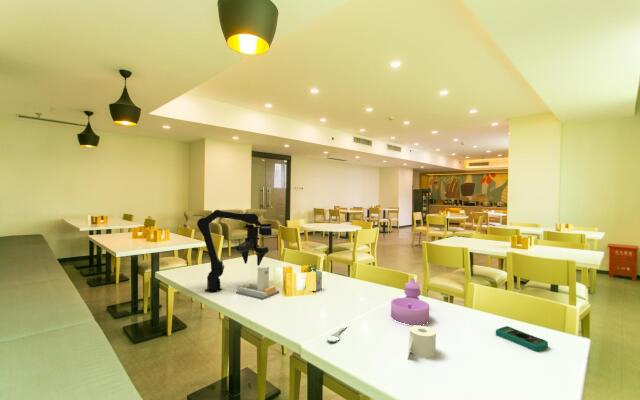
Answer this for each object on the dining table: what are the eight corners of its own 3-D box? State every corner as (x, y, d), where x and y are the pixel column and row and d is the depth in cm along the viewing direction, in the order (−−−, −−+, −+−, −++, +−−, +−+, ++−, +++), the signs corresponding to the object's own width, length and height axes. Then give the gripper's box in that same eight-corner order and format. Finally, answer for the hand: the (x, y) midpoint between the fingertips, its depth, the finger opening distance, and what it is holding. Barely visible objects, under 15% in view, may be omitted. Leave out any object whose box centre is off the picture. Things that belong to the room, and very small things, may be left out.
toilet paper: (407, 359, 96) (407, 337, 96) (410, 343, 106) (410, 323, 106) (435, 365, 93) (435, 342, 93) (435, 348, 103) (436, 327, 103)
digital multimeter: (538, 354, 101) (538, 345, 101) (494, 336, 114) (494, 328, 114) (550, 349, 105) (550, 340, 105) (506, 332, 118) (506, 324, 118)
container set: (428, 328, 119) (429, 295, 119) (388, 322, 124) (389, 290, 124) (429, 307, 142) (430, 279, 142) (396, 303, 148) (396, 275, 148)
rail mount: (236, 293, 158) (236, 285, 158) (253, 287, 170) (253, 280, 170) (262, 299, 149) (262, 291, 149) (279, 292, 161) (279, 285, 161)
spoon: (323, 344, 106) (324, 339, 106) (345, 322, 125) (345, 318, 125) (335, 346, 104) (335, 341, 104) (354, 324, 123) (354, 320, 123)
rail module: (257, 292, 157) (257, 267, 157) (262, 290, 160) (262, 265, 160) (263, 293, 155) (263, 268, 155) (268, 291, 158) (268, 266, 158)
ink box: (314, 292, 162) (314, 267, 162) (308, 291, 164) (308, 266, 164) (321, 289, 167) (322, 265, 167) (316, 288, 170) (316, 264, 170)
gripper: (228, 236, 165) (228, 265, 165) (255, 239, 156) (254, 269, 156) (243, 234, 175) (243, 261, 175) (269, 236, 165) (268, 265, 166)
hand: (252, 264), depth 168 cm, fingers open, 9 cm apart
